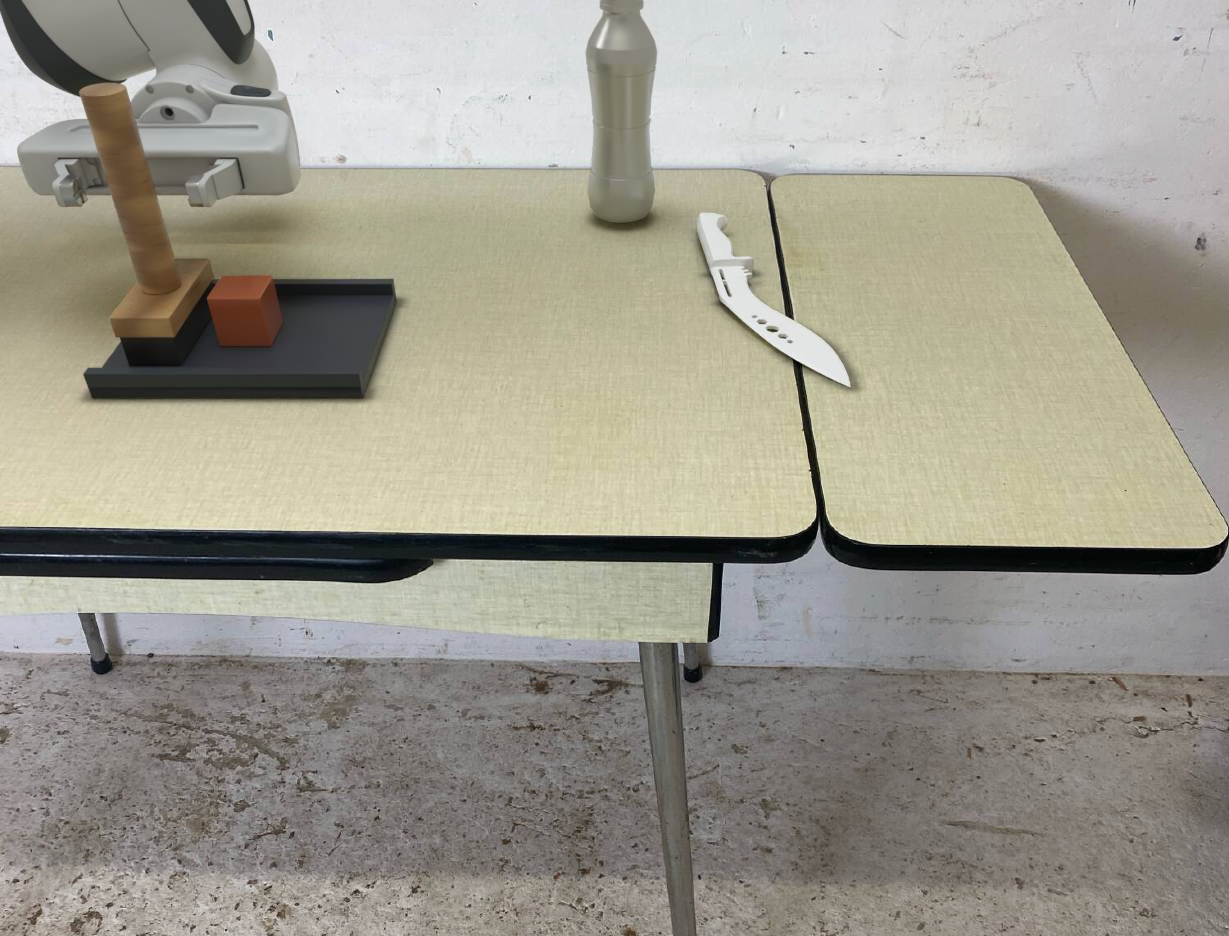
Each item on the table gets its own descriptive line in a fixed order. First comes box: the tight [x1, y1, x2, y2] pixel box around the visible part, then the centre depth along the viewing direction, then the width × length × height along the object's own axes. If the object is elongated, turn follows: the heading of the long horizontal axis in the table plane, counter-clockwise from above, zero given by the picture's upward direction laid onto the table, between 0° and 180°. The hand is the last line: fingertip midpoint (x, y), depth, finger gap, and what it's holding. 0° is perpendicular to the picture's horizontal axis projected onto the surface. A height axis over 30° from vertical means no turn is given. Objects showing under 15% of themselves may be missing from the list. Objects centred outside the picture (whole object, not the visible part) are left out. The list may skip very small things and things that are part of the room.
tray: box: [82, 278, 398, 399], centre depth 84 cm, size 20×16×2 cm
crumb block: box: [207, 274, 283, 346], centre depth 83 cm, size 4×4×4 cm
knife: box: [695, 212, 851, 388], centre depth 90 cm, size 30×2×8 cm
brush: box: [79, 83, 215, 366], centre depth 78 cm, size 4×10×18 cm, turn 0°
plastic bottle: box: [585, 0, 658, 224], centre depth 98 cm, size 6×7×20 cm
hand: (131, 196), depth 77 cm, fingers open, 8 cm apart
